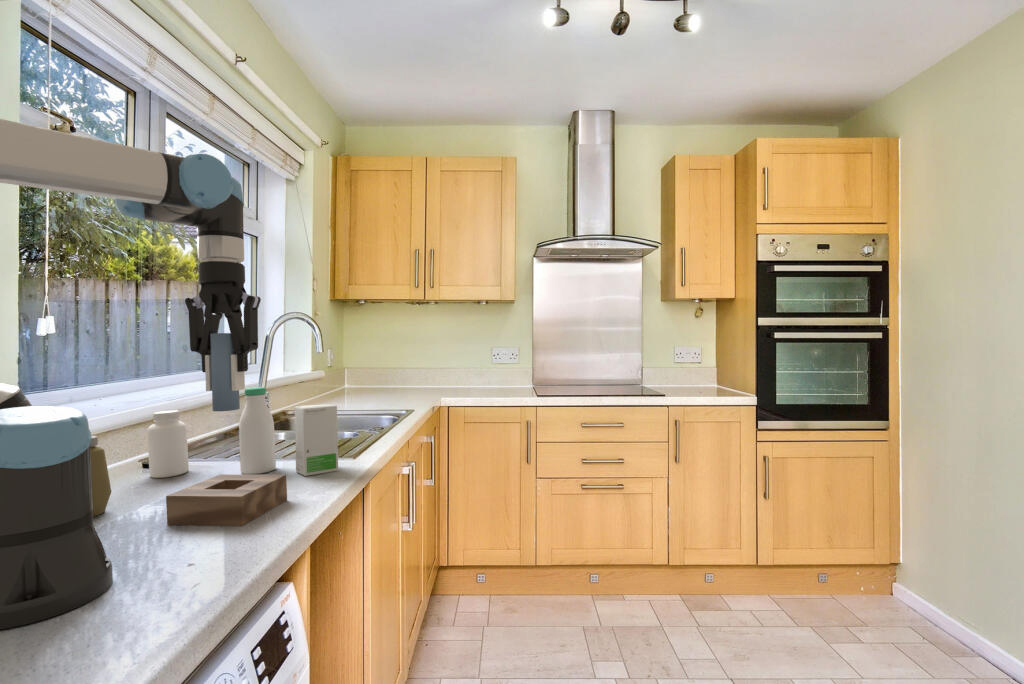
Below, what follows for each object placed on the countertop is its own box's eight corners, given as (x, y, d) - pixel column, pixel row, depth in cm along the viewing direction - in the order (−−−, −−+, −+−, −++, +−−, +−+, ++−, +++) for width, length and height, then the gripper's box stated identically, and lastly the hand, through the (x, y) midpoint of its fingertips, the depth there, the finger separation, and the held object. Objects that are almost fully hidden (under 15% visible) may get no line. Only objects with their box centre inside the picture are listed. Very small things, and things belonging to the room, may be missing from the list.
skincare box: (304, 477, 123) (301, 408, 122) (294, 472, 128) (292, 406, 127) (340, 470, 128) (337, 404, 128) (329, 465, 133) (327, 402, 133)
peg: (229, 411, 97) (227, 333, 97) (207, 411, 97) (204, 333, 97) (244, 408, 101) (242, 333, 101) (223, 408, 102) (220, 333, 101)
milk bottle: (282, 469, 131) (279, 386, 131) (252, 476, 124) (249, 390, 124) (263, 465, 135) (260, 385, 135) (233, 473, 128) (230, 389, 128)
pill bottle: (155, 472, 132) (152, 410, 132) (192, 468, 134) (190, 408, 134) (144, 480, 124) (141, 415, 124) (183, 476, 127) (181, 412, 127)
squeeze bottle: (81, 524, 95) (77, 421, 95) (44, 522, 97) (39, 421, 96) (123, 509, 103) (119, 414, 103) (88, 507, 104) (84, 414, 104)
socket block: (242, 525, 91) (241, 496, 91) (167, 524, 93) (166, 495, 93) (287, 500, 105) (286, 474, 105) (220, 499, 107) (219, 474, 107)
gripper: (277, 263, 101) (281, 387, 102) (192, 267, 104) (196, 388, 104) (254, 257, 94) (258, 391, 94) (162, 261, 96) (166, 392, 96)
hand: (225, 389), depth 99 cm, fingers closed on peg, 4 cm apart
